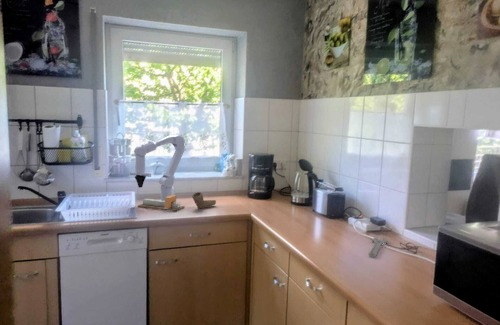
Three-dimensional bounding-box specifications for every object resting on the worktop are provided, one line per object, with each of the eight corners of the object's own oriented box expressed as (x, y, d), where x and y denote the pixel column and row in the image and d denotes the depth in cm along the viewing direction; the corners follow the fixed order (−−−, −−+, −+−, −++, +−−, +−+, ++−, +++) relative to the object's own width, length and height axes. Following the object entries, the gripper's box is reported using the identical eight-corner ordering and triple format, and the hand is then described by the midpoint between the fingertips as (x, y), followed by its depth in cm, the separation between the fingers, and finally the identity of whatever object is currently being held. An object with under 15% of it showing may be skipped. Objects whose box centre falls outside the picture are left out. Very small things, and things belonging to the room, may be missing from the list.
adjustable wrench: (374, 259, 140) (375, 255, 140) (358, 256, 143) (359, 252, 143) (388, 242, 160) (389, 238, 160) (374, 239, 164) (374, 236, 164)
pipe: (218, 206, 216) (218, 191, 215) (196, 210, 205) (196, 194, 204) (212, 204, 221) (212, 189, 219) (190, 208, 209) (190, 192, 208)
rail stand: (138, 206, 209) (138, 200, 209) (147, 203, 219) (147, 197, 218) (175, 211, 201) (175, 204, 201) (184, 207, 211) (184, 201, 210)
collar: (164, 207, 205) (164, 197, 204) (171, 204, 212) (171, 195, 211) (169, 208, 204) (169, 198, 203) (176, 205, 211) (176, 195, 210)
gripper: (126, 165, 214) (126, 187, 215) (146, 167, 209) (146, 189, 211) (133, 164, 221) (133, 185, 222) (153, 166, 216) (153, 187, 218)
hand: (140, 187), depth 217 cm, fingers closed
